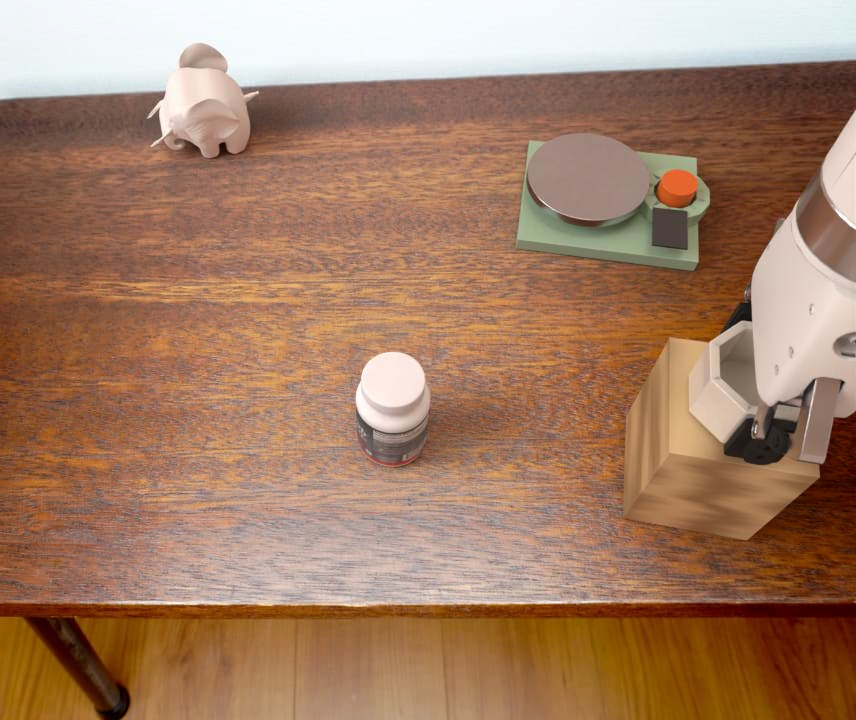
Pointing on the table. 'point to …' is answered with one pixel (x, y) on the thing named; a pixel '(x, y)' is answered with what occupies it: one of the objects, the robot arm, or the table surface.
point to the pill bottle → (392, 409)
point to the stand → (696, 461)
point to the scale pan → (598, 186)
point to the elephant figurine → (203, 104)
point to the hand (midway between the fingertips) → (746, 395)
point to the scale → (625, 237)
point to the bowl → (728, 384)
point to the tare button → (677, 188)
